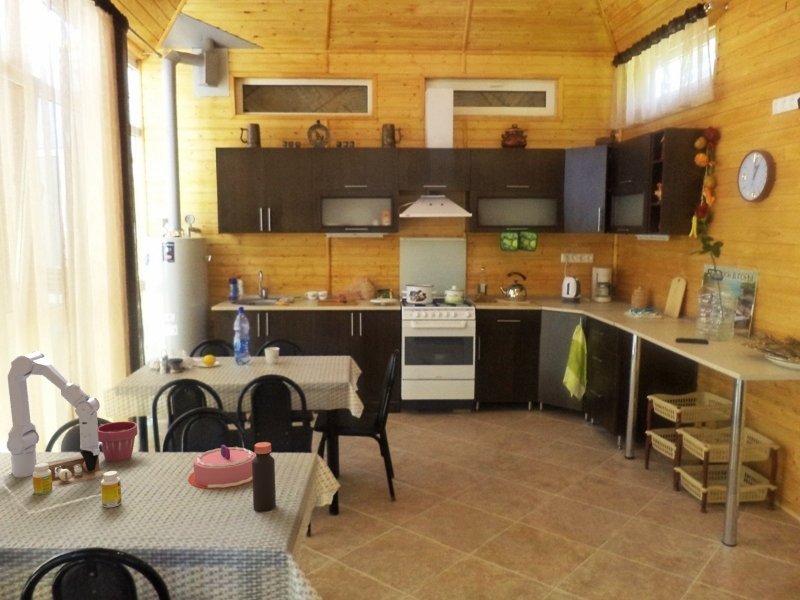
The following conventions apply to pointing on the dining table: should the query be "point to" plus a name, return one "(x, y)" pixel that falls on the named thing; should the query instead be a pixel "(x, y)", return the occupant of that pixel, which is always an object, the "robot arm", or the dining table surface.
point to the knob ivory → (64, 474)
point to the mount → (69, 464)
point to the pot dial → (78, 471)
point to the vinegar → (263, 478)
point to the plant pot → (117, 440)
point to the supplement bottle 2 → (111, 489)
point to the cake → (222, 468)
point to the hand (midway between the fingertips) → (91, 470)
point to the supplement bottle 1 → (42, 479)
